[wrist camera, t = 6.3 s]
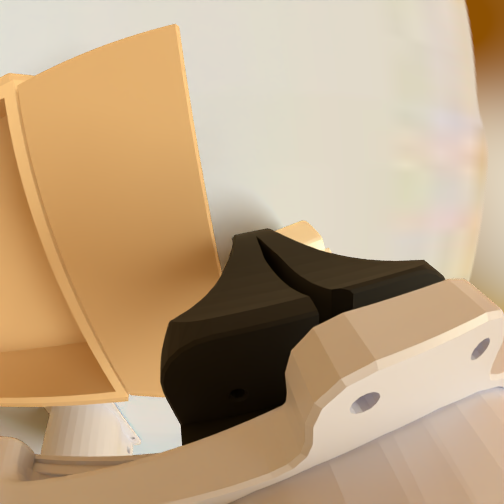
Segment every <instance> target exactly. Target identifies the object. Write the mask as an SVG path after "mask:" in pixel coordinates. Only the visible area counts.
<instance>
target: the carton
mask: <svg viewBox="0 0 504 504" xmlns="http://www.w3.org/2000/svg"><path fill="white" fill-rule="evenodd" d="M32 77H34V76H32V75H23V74H12V73H8V74H6V75H4V76H2V77H0V406H4V407H48V406H73V405H89V404H102V403H113V402H123V401H128V397H129V392H128V390H127V389H126V387H125V385H124V384H123V382H122V380H121V379H120V377H119V375H118V373H117V372H116V370H115V368H114V366H113V365H112V363H111V361H110V359H109V357H108V356H107V354H106V352H105V350H104V348H103V346H102V344H101V342H100V340H99V339H98V337H97V335H96V333H95V331H94V329H93V327H92V325H91V323H90V320H89V318H88V316H87V314H86V312H85V310H84V308H83V306H82V303H81V301H80V299H79V297H78V295H77V292H76V290H75V288H74V285H73V283H72V281H71V278H70V276H69V273H68V271H67V269H66V266H65V264H64V261H63V258H62V256H61V253H60V251H59V248H58V245H57V243H56V240H55V237H54V234H53V231H52V228H51V225H50V223H49V220H48V216H47V213H46V210H45V207H44V204H43V201H42V197H41V194H40V190H39V187H38V183H37V180H36V176H35V172H34V168H33V164H32V160H31V156H30V152H29V148H28V143H27V138H26V134H25V129H24V123H23V118H22V112H21V106H20V100H19V93H18V86H17V85H19V84H21V83H23V82H25V81H26V80H28V79H30V78H32Z"/></svg>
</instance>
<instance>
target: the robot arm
mask: <svg viewBox="0 0 504 504" xmlns="http://www.w3.org/2000/svg"><path fill="white" fill-rule="evenodd" d="M232 242H233V245H232V250H231V253H230V257H229V260H228V262H227V264H226V266H225V269H224V271H223V273H222V275H221V276H220V278H219V280H218V281H217V283H216V284H215V285H214V287H213V288H212V289H211V290H210V291H209V292H208V294H207V295H206V296H205V297H203V298H202V299H201V300H200V301H199V302H198V303H196V304H195V305H194V306H193V307H191V308H190V309H189V310H187V311H185V312H184V313H182V314H181V315H179V316H177V317H176V318H174V319H172V320H171V321H170V322H169V324H168V327H167V330H166V334H165V338H164V342H163V347H162V352H161V362H160V383H161V387H162V390H163V393H164V395H165V397H166V399H167V401H168V403H169V405H170V406H171V408H172V410H173V412H174V414H175V416H176V417H177V419H178V421H179V423H180V424H181V436H182V446H180V447H177V448H174V449H171V450H168V451H165V452H162V453H155V454H143V455H133V445H139V444H141V440H140V438H139V437H138V436H137V434H136V433H135V432H134V430H133V429H132V428H131V426H130V425H129V424H128V422H127V421H126V420H125V418H124V417H123V415H122V414H121V413H120V411H119V410H118V408H117V407H116V406H115V404H114V403H102V404H89V405H73V406H48V407H44V408H45V410H46V411H47V412H48V413H49V414H50V415H49V419H48V423H47V427H46V432H45V436H44V440H43V445H42V450H41V454H40V455H38V454H34V452H33V451H32V450H31V449H30V448H29V447H28V446H27V445H26V444H25V443H23V442H22V441H20V440H18V439H16V438H12V437H3V436H0V504H504V313H503V311H502V310H501V309H500V308H499V307H498V306H497V305H496V304H495V303H493V302H492V301H491V300H490V299H488V298H487V297H486V296H485V295H484V294H483V293H481V292H480V291H479V290H478V289H477V288H475V287H474V286H473V285H472V284H471V283H469V282H468V281H467V280H466V279H447V280H445V278H444V276H443V275H442V274H440V273H439V272H438V271H437V270H436V269H434V268H433V267H432V266H431V265H429V264H428V263H427V262H426V261H425V260H410V261H380V260H367V259H359V258H352V257H346V256H341V255H337V254H333V253H329V252H325V251H322V250H319V249H316V248H313V247H310V246H307V245H305V244H302V243H300V242H297V241H295V240H293V239H291V238H288V237H286V236H284V235H282V234H280V233H278V232H275V231H273V230H271V229H263V230H258V231H252V232H247V233H243V234H238V235H234V237H233V238H232Z"/></svg>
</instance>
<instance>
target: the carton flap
mask: <svg viewBox="0 0 504 504" xmlns="http://www.w3.org/2000/svg"><path fill="white" fill-rule="evenodd" d="M17 86H18V93H19V100H20V106H21V112H22V118H23V123H24V129H25V134H26V138H27V143H28V148H29V152H30V156H31V160H32V164H33V168H34V172H35V176H36V180H37V183H38V187H39V190H40V194H41V197H42V201H43V204H44V207H45V210H46V213H47V216H48V220H49V223H50V225H51V228H52V231H53V234H54V237H55V240H56V243H57V245H58V248H59V251H60V253H61V256H62V258H63V261H64V264H65V266H66V269H67V271H68V273H69V276H70V278H71V281H72V283H73V285H74V288H75V290H76V292H77V295H78V297H79V299H80V301H81V303H82V306H83V308H84V310H85V312H86V314H87V316H88V318H89V320H90V323H91V325H92V327H93V329H94V331H95V333H96V335H97V337H98V339H99V340H100V342H101V344H102V346H103V348H104V350H105V352H106V354H107V356H108V357H109V359H110V361H111V363H112V365H113V366H114V368H115V370H116V372H117V373H118V375H119V377H120V379H121V380H122V382H123V384H124V385H125V387H126V389H127V390H128V392H129V394H130V395H137V396H152V397H165V395H164V393H163V390H162V387H161V383H160V362H161V352H162V347H163V342H164V338H165V334H166V330H167V327H168V324H169V322H170V321H171V320H172V319H174V318H176V317H177V316H179V315H181V314H182V313H184V312H185V311H187V310H189V309H190V308H191V307H193V306H194V305H195V304H196V303H198V302H199V301H200V300H201V299H202V298H203V297H205V296H206V295H207V294H208V292H209V291H210V290H211V289H212V288H213V287H214V285H215V284H216V283H217V281H218V280H219V278H220V276H221V275H222V272H221V267H220V262H219V257H218V252H217V247H216V242H215V237H214V232H213V227H212V222H211V216H210V211H209V206H208V201H207V195H206V190H205V184H204V179H203V173H202V168H201V162H200V157H199V151H198V145H197V139H196V133H195V128H194V122H193V116H192V109H191V103H190V97H189V91H188V84H187V78H186V71H185V65H184V58H183V51H182V44H181V37H180V30H179V26H177V25H176V24H173V25H169V26H165V27H161V28H157V29H154V30H150V31H147V32H143V33H140V34H137V35H134V36H130V37H127V38H124V39H121V40H118V41H115V42H113V43H110V44H107V45H104V46H102V47H99V48H96V49H94V50H91V51H89V52H86V53H84V54H81V55H79V56H77V57H74V58H72V59H70V60H67V61H65V62H63V63H61V64H58V65H56V66H54V67H52V68H50V69H48V70H46V71H44V72H42V73H40V74H38V75H36V76H34V77H32V78H30V79H28V80H26V81H25V82H23V83H21V84H19V85H17Z"/></svg>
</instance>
